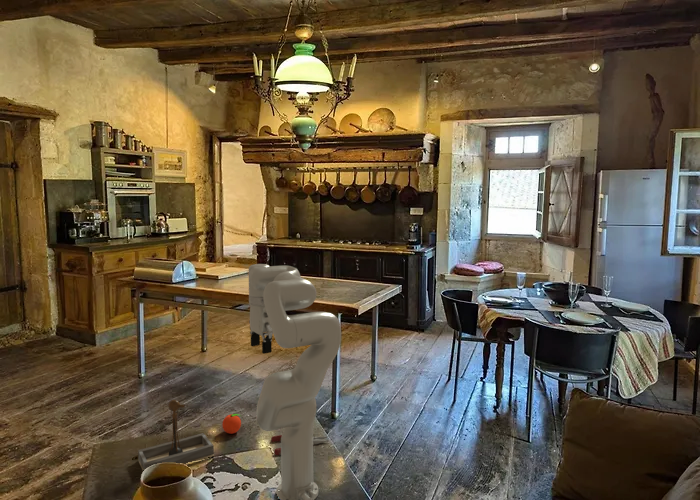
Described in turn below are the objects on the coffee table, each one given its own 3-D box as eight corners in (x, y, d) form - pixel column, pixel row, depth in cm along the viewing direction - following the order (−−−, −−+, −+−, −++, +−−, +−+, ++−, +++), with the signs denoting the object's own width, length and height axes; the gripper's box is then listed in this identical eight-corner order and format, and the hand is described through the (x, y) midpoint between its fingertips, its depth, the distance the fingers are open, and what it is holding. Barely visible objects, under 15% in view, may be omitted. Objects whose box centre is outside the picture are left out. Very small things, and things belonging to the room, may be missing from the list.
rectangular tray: (214, 457, 168) (214, 446, 168) (146, 477, 156) (145, 465, 156) (203, 443, 178) (203, 432, 178) (138, 460, 166) (137, 449, 166)
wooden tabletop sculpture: (188, 453, 169) (186, 397, 167) (182, 461, 164) (180, 403, 162) (172, 453, 169) (170, 396, 167) (165, 460, 165) (163, 402, 162)
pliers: (331, 449, 175) (331, 442, 174) (274, 457, 169) (274, 450, 169) (324, 435, 186) (324, 428, 185) (270, 441, 180) (270, 435, 180)
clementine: (239, 426, 192) (239, 408, 191) (247, 432, 186) (246, 414, 185) (219, 431, 187) (219, 413, 186) (226, 438, 181) (226, 420, 181)
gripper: (281, 303, 163) (281, 353, 165) (260, 295, 177) (260, 341, 179) (260, 306, 159) (261, 357, 161) (240, 297, 173) (241, 344, 175)
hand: (261, 349), depth 170 cm, fingers open, 9 cm apart
